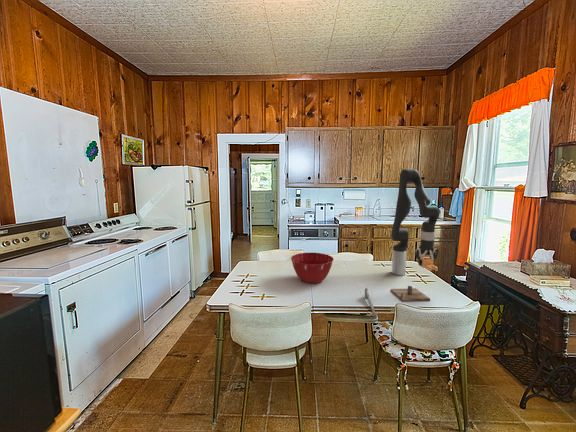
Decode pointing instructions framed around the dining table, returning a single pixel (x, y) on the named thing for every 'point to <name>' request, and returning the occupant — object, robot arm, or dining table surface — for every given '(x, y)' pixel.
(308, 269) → the mixing bowl
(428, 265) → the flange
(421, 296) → the post board
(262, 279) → the dining table surface
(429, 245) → the robot arm
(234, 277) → the dining table surface
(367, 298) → the caliper
